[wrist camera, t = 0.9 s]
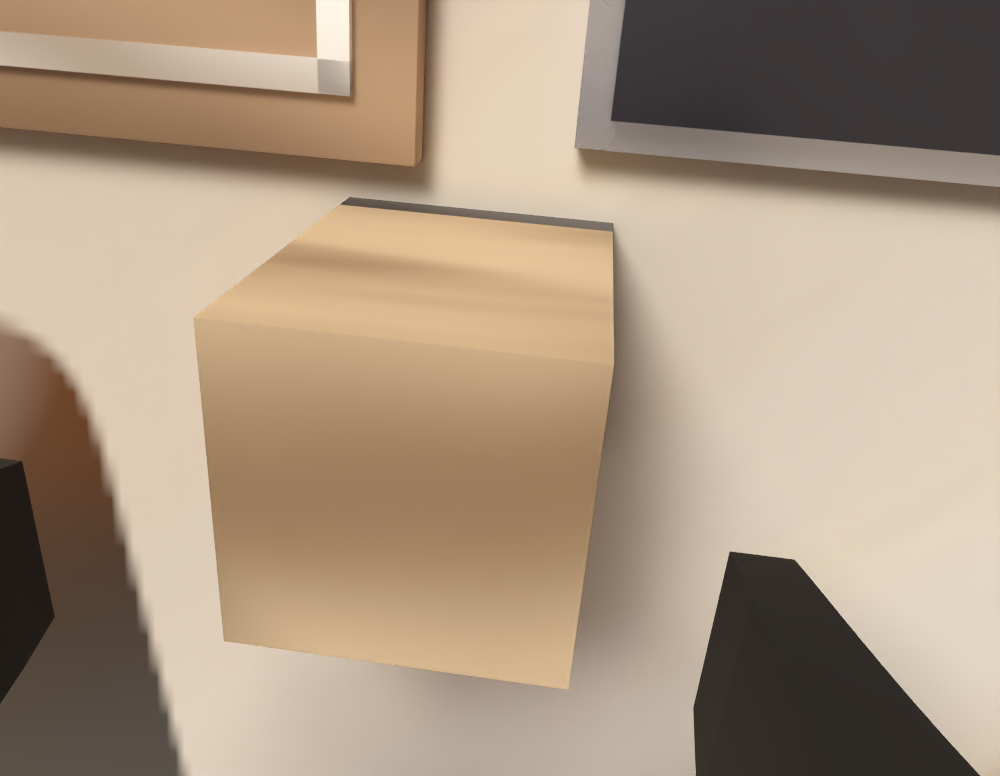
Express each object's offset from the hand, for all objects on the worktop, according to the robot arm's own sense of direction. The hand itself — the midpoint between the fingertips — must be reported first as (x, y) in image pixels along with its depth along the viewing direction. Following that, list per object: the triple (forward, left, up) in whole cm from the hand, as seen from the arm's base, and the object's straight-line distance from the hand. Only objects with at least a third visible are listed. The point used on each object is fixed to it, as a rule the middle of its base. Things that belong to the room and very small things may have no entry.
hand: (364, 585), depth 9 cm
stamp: (0, 0, -7) cm, 7 cm away
